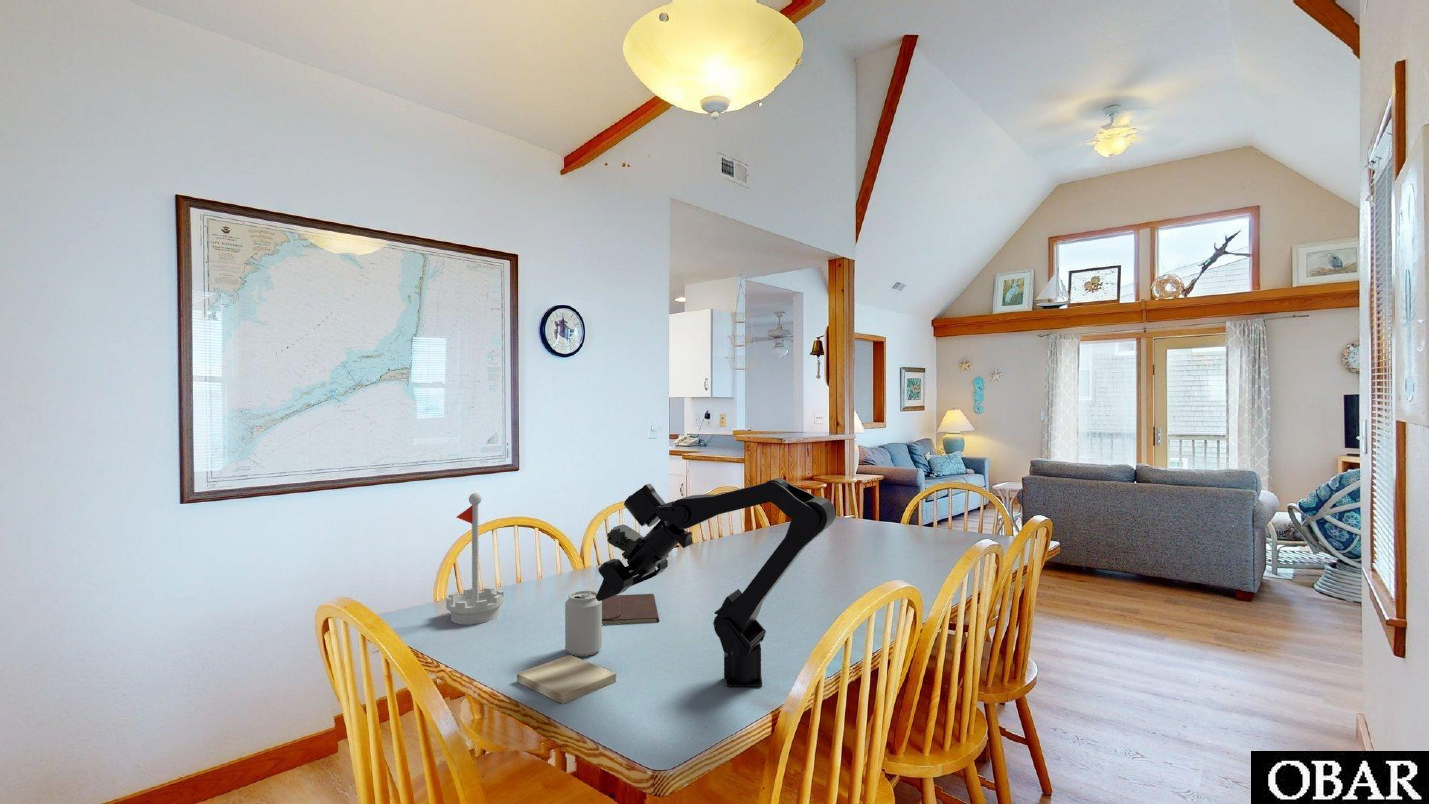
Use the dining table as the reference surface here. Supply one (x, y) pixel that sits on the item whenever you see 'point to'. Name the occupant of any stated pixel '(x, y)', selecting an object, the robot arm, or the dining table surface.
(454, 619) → the flag stand
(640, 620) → the notebook
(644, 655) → the dining table surface
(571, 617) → the can
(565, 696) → the board
